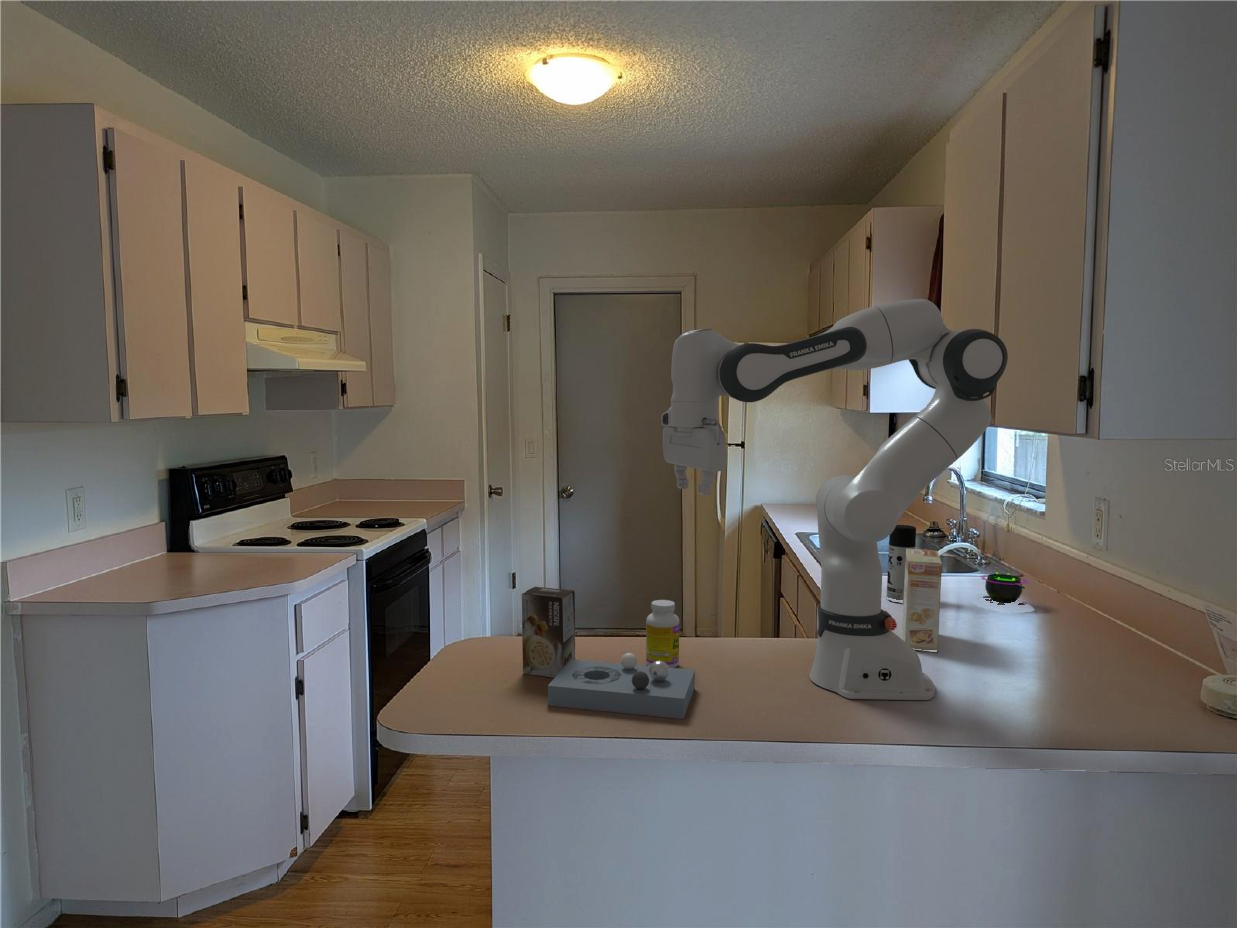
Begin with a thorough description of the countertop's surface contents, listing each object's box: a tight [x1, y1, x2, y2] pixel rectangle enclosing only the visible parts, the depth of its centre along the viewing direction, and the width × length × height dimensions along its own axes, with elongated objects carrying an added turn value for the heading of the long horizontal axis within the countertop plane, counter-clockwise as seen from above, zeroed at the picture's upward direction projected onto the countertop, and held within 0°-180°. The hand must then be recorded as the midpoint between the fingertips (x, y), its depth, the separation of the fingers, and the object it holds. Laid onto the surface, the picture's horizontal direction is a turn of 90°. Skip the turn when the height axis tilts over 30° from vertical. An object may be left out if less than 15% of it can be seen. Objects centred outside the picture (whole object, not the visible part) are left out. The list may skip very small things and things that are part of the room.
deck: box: [547, 658, 696, 720], centre depth 140 cm, size 24×14×4 cm, turn 77°
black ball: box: [632, 671, 649, 689], centre depth 135 cm, size 3×3×3 cm
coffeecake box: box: [901, 548, 943, 651], centre depth 172 cm, size 15×7×20 cm, turn 161°
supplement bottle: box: [645, 599, 680, 668], centre depth 157 cm, size 7×7×13 cm
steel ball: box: [649, 661, 669, 681], centre depth 139 cm, size 4×4×4 cm
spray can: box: [886, 524, 917, 601], centre depth 206 cm, size 7×7×20 cm
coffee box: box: [521, 586, 576, 679], centre depth 152 cm, size 9×6×16 cm
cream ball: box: [620, 652, 638, 669], centre depth 144 cm, size 3×3×3 cm
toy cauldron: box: [979, 562, 1030, 605], centre depth 203 cm, size 15×15×11 cm
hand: (693, 491), depth 146 cm, fingers open, 8 cm apart
